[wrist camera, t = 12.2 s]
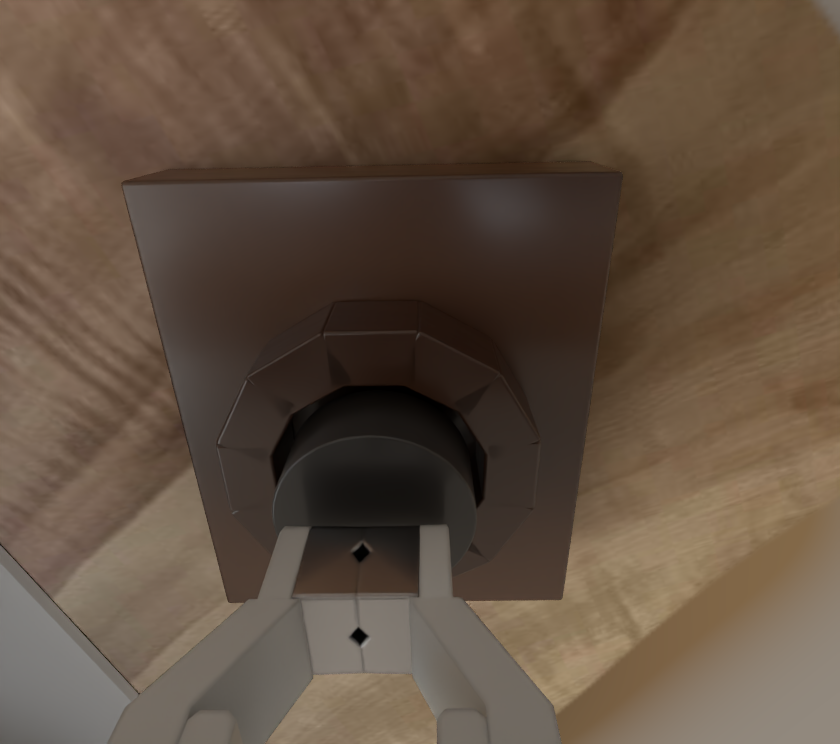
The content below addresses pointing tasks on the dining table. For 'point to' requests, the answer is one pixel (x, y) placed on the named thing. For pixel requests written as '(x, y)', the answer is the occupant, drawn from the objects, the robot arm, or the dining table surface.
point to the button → (379, 469)
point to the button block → (385, 334)
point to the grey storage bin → (51, 671)
